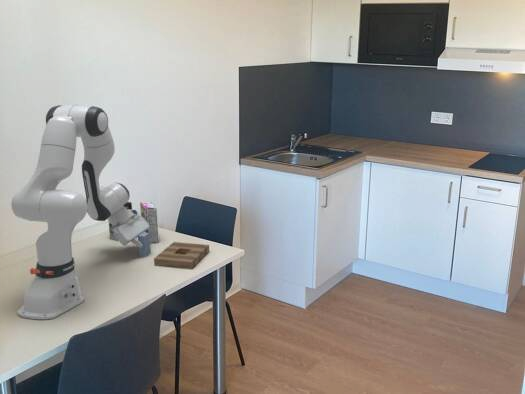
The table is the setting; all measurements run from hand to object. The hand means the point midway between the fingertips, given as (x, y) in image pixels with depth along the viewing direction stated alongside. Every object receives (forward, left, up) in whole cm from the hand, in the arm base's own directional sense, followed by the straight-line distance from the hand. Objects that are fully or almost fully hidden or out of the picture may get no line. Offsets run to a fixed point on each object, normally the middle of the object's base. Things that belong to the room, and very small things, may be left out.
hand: (145, 244), depth 233 cm
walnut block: (0, -16, -5) cm, 17 cm away
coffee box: (+18, +21, -5) cm, 28 cm away
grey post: (0, +1, -5) cm, 5 cm away
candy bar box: (+18, +7, -5) cm, 20 cm away
